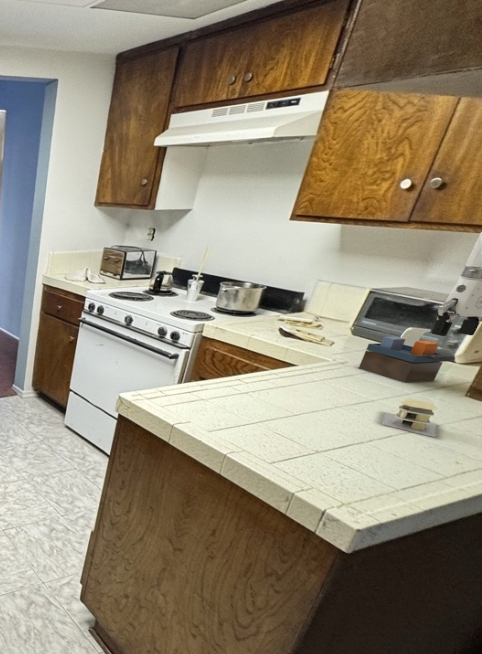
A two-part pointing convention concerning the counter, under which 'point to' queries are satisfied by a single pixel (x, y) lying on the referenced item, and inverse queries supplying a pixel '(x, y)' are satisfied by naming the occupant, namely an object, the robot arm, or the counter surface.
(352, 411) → the counter surface
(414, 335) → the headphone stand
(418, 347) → the block
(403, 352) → the blue slab
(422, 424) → the stacked layers on plate
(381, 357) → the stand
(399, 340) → the grey-blue packet
